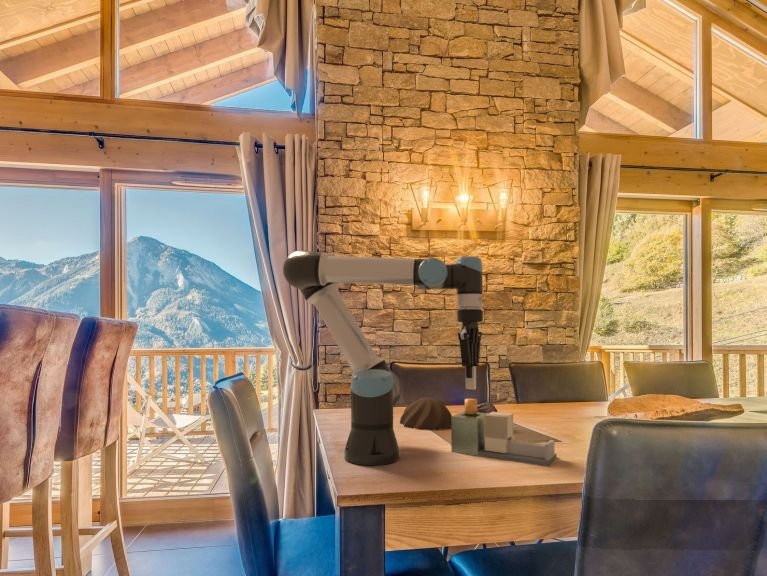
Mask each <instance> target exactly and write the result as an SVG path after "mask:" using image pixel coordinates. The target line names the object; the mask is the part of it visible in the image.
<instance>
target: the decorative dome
mask: <svg viewBox="0 0 767 576" xmlns="http://www.w3.org/2000/svg"><path fill="white" fill-rule="evenodd" d="M451 416H453V415H452V413H451V411H450V410H449V409H448V408H447V406H446V405H445V404H444V403H443V402H441V401H440V400H438V399H436V398H434V397H430V396H427V397H426V396H425V397H421V398H418V399H416V400H414V401H412V402H410V403H409V404H408V405H407V406H406V408H405V409H404V411H403V413H402V415H401V416H400V419H399V420H400V421H399V424H400V425H402V424H403V425H404V427H403V428H409V427H412V428H411V429H414V428H415V430H430V429H437V430H440V429H439V428H441V429H451V428H450V427H451ZM403 425H402V426H403Z"/></svg>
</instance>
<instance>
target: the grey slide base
mask: <svg viewBox="0 0 767 576" xmlns="http://www.w3.org/2000/svg"><path fill="white" fill-rule="evenodd" d="M507 441H508V452H507V453H500V452H493V451H486V450H485V448H484V449H482V450H480V451H478V456H479V457H486V458H492V459H496V460H497V459H498V460H505V461H510V460H511V461H513V462H517V463H526V464H529V465H530V464H531V465H536V464H537V465H538V466H543V465H544V467H548V466H549V465H550V464H551V463H552V462H553V461H555V460H556V458H557V453H555V440H554V439H550V440H548V441H547V442H546V443H539V442H532V441H525V440H524V441H523V440H518V439H517V440H516V439H513V440H509V439H507ZM511 461H510V462H511Z"/></svg>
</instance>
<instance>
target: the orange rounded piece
mask: <svg viewBox="0 0 767 576" xmlns="http://www.w3.org/2000/svg"><path fill="white" fill-rule="evenodd" d="M477 406H478V399H477V398H464V411H465V414H468V415H474V414H477Z"/></svg>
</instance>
